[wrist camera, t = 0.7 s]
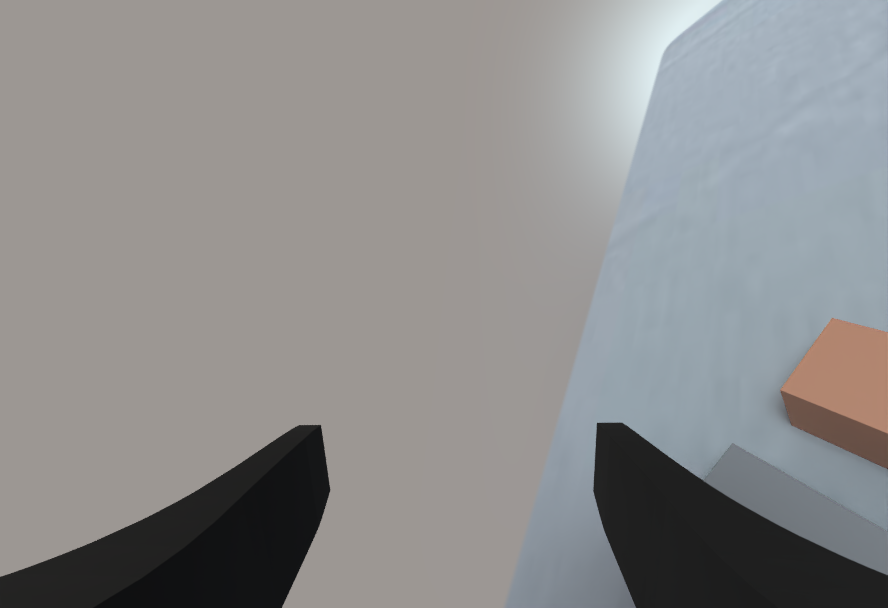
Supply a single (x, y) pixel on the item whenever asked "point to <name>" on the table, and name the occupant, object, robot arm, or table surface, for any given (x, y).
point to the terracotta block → (843, 390)
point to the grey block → (799, 508)
